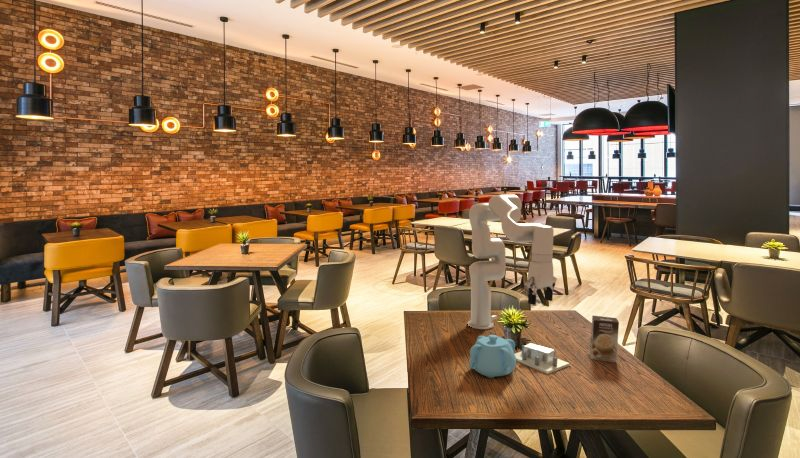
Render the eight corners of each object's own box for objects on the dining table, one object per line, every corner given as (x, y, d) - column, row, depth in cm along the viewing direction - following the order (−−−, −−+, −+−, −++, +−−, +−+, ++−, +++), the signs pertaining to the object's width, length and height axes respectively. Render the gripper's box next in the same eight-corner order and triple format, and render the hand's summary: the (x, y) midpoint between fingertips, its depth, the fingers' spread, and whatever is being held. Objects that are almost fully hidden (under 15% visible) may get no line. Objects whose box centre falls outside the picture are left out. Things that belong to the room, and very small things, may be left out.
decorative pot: (508, 385, 149) (509, 347, 147) (464, 375, 156) (464, 339, 155) (519, 367, 163) (520, 332, 161) (478, 359, 170) (479, 325, 169)
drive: (530, 353, 173) (530, 342, 173) (553, 361, 166) (554, 349, 166) (523, 357, 170) (523, 346, 169) (547, 364, 163) (547, 353, 162)
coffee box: (591, 359, 170) (592, 319, 168) (589, 353, 176) (591, 315, 174) (617, 362, 167) (619, 322, 165) (614, 356, 173) (616, 317, 171)
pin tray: (531, 350, 179) (531, 341, 179) (569, 365, 164) (569, 355, 164) (509, 357, 172) (509, 348, 171) (547, 374, 157) (547, 363, 157)
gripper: (548, 254, 172) (546, 296, 174) (518, 258, 162) (517, 303, 164) (564, 257, 166) (562, 300, 167) (535, 262, 156) (533, 308, 158)
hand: (540, 302), depth 166 cm, fingers open, 9 cm apart
